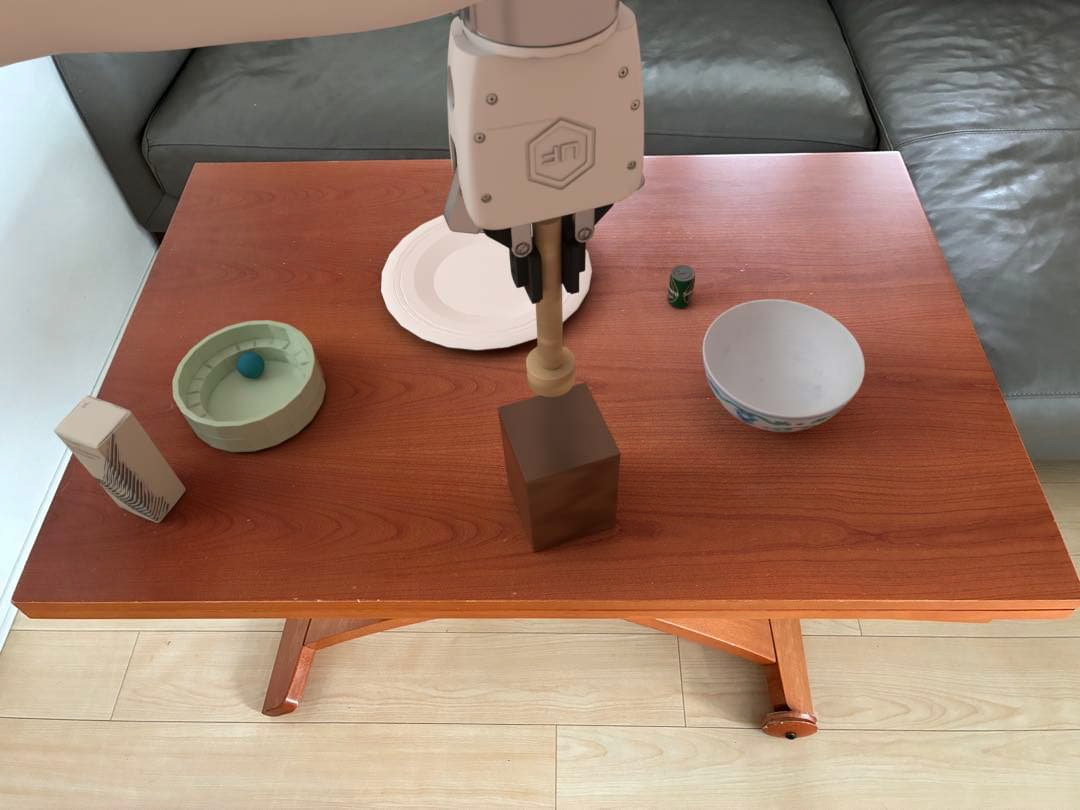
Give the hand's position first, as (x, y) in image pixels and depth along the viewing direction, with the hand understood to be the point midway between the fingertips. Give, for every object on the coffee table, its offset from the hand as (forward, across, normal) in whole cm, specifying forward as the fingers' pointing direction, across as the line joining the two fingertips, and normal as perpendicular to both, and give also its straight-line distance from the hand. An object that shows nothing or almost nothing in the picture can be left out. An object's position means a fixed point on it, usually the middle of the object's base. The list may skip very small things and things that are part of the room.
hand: (548, 283), depth 50 cm
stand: (+29, +1, 0) cm, 29 cm away
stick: (+10, 0, 0) cm, 10 cm away
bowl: (+29, -25, +24) cm, 45 cm away
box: (+29, -36, +14) cm, 49 cm away
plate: (+28, +3, +32) cm, 43 cm away
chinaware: (+28, +25, +4) cm, 38 cm away
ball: (+27, -25, +27) cm, 46 cm away
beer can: (+28, +23, +22) cm, 42 cm away
